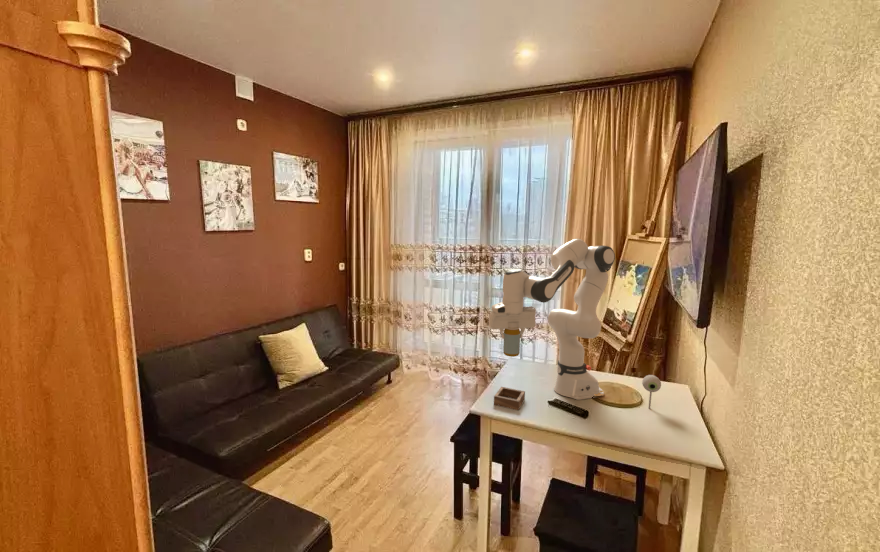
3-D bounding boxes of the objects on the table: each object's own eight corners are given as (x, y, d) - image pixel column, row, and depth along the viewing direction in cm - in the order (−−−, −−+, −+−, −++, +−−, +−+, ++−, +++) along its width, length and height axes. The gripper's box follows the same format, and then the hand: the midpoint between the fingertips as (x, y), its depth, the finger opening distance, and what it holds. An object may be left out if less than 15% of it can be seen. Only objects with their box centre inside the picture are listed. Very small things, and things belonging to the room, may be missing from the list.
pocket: (501, 394, 177) (501, 386, 177) (524, 399, 173) (524, 391, 172) (493, 404, 168) (494, 396, 167) (518, 410, 163) (518, 401, 162)
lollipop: (641, 410, 163) (644, 377, 161) (639, 403, 170) (642, 371, 168) (659, 413, 161) (663, 380, 159) (657, 406, 167) (660, 373, 165)
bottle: (522, 353, 167) (523, 320, 165) (514, 358, 162) (515, 324, 160) (508, 350, 172) (509, 318, 170) (500, 354, 167) (500, 321, 164)
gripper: (533, 304, 168) (532, 334, 170) (488, 305, 166) (487, 336, 168) (538, 307, 162) (537, 339, 164) (491, 309, 159) (491, 341, 162)
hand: (511, 337), depth 166 cm, fingers closed on bottle, 6 cm apart
